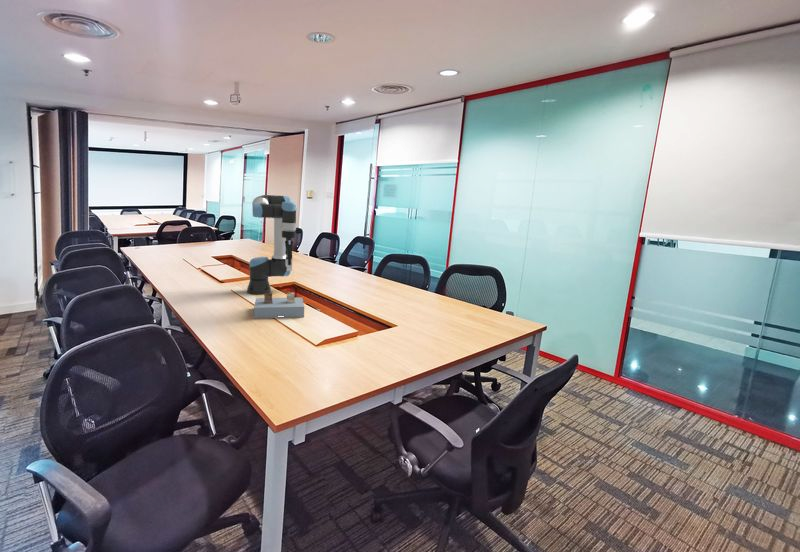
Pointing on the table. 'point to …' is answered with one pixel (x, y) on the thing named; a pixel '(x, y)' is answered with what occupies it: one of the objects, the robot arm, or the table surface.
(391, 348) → the table surface
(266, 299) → the dark peg
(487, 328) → the table surface
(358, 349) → the table surface
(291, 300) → the pale peg
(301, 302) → the socket block
